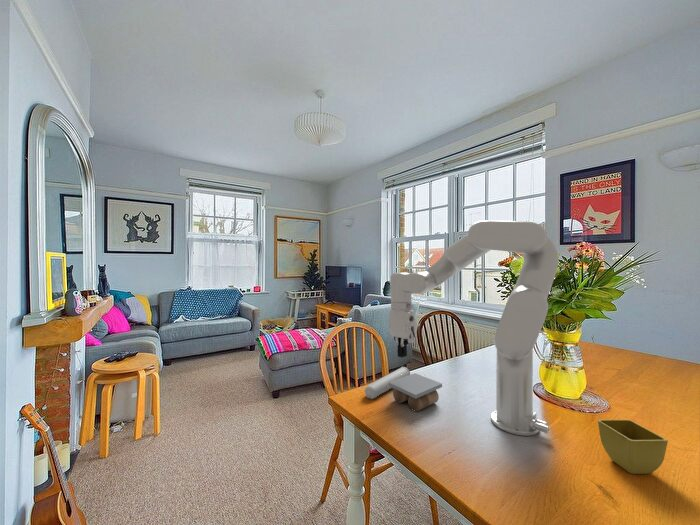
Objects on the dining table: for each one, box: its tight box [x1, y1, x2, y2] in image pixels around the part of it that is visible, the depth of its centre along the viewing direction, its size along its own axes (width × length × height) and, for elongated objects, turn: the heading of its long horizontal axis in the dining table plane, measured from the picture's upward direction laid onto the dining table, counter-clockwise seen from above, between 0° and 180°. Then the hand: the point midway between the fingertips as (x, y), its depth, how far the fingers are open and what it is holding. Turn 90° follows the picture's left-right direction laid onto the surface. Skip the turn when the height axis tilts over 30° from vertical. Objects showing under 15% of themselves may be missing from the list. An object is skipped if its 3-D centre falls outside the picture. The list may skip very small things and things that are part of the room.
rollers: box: [392, 388, 440, 412], centre depth 100 cm, size 12×10×5 cm
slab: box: [389, 372, 443, 399], centre depth 100 cm, size 12×14×1 cm
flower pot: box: [597, 418, 669, 475], centre depth 68 cm, size 9×9×9 cm
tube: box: [364, 366, 411, 400], centre depth 111 cm, size 5×5×25 cm
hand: (402, 356), depth 105 cm, fingers closed
